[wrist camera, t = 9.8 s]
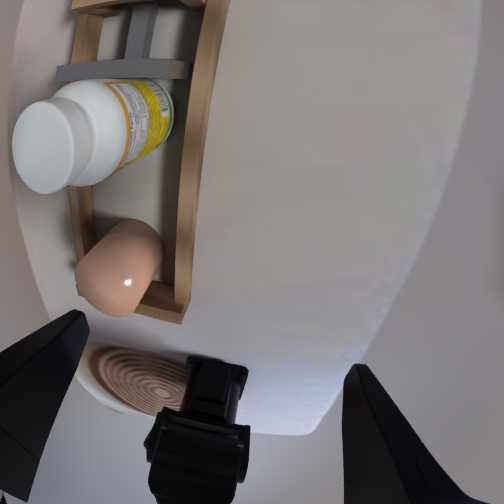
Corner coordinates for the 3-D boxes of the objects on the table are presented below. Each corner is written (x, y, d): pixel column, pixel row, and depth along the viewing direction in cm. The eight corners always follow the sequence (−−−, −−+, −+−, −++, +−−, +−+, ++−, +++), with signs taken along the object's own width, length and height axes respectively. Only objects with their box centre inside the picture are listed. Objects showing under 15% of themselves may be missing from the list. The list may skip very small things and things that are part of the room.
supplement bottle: (188, 89, 16) (102, 98, 8) (162, 163, 19) (79, 228, 10) (118, 69, 15) (11, 77, 7) (99, 140, 18) (1, 188, 10)
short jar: (165, 277, 24) (141, 324, 19) (113, 266, 24) (82, 307, 19) (164, 224, 21) (133, 265, 16) (107, 214, 21) (68, 251, 16)
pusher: (194, 79, 15) (167, 78, 12) (97, 78, 15) (55, 82, 11) (213, -19, 12) (193, -45, 8) (113, -11, 12) (75, -25, 8)
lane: (190, 300, 25) (177, 333, 21) (94, 275, 25) (72, 302, 21) (239, -38, 11) (228, -64, 7) (106, -27, 11) (74, -40, 7)
